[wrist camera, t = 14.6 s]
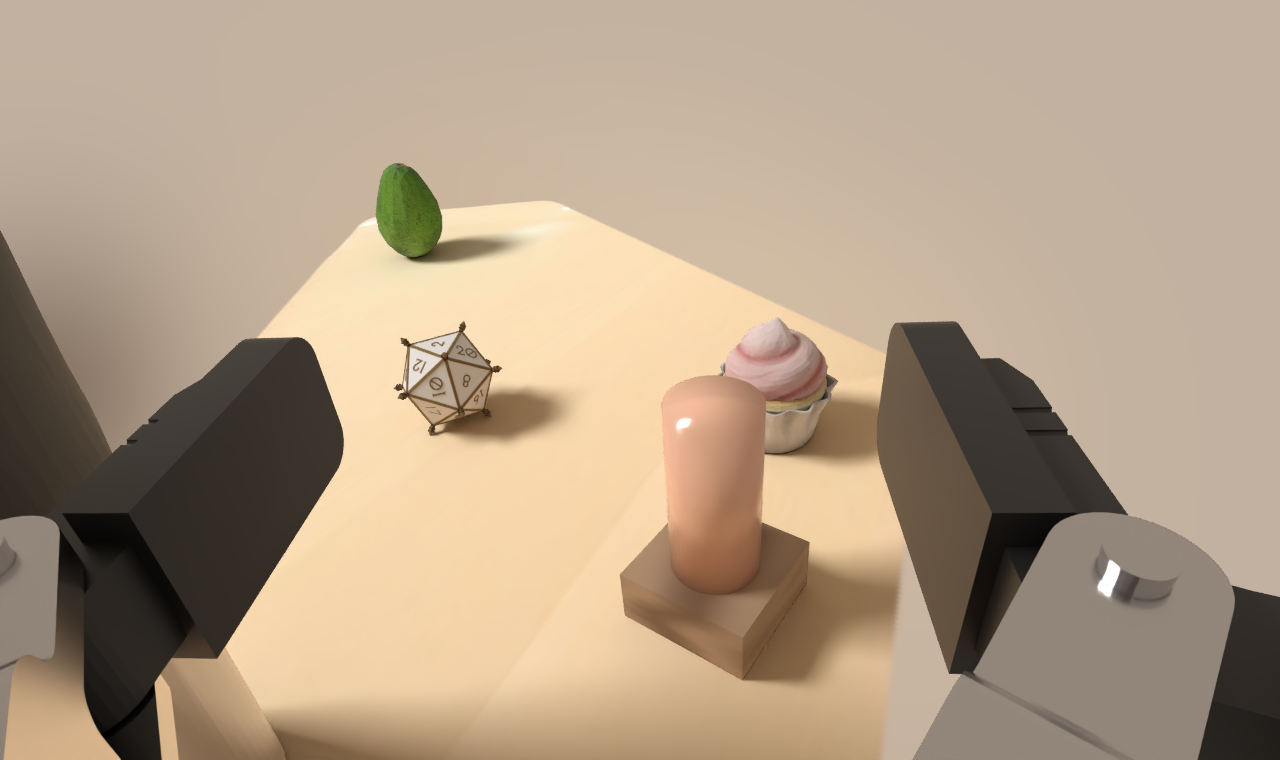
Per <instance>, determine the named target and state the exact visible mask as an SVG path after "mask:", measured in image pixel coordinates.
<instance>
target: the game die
mask: <svg viewBox="0 0 1280 760" xmlns="http://www.w3.org/2000/svg"><path fill="white" fill-rule="evenodd" d="M465 327H466V325H465V322H464V321H463V322H462V323H461V324H460V327H459V331H457V332H453V333H450V334H446V335H442V336H438V337H435V338H431V339H427V340H424V341H420V342H416V343H412V344H410V343H409V341H407V339H404V338H401V342H402V343H401V344H404V346H407V347H408V348H407V355H406V363H405V370H404V377H403V384H402V385H401V384H399V385H398V384H397V385H396V387H395V388H394V389H396V390H397V391H400V390H402V389H403V390H404V392H405V393H404V392H403V393H401V394H399V397H398V398H399V399H402V400H404V399H406V398H407V397H408V398H409V399H410V400H411V402H412V403H413V404H414V405H415V406H416V407H417V409H418V410H419V411H420V412H421V413H422V414H423V416H424V417H425V418H426V419H427V420H428V422H429V423H430V424H431V426H430V427H429V430H428V431H429V434H430V435H432V434H433V433H434V432H435V431H434V430H435V426H436V425H439V424H443V423H446V422H449V421H452V420H456V419H459V418H462V417H465V416H469V415H472V414H475V413H479V412H483V414H484V415H485V416H489V417H491V414H490V411H488V409H485V405H486V400H487V396H488V391H489V386H490V382H491V377H492V373H493V372H495V373H496V372H499V371H500V370H501V369H502V368H501V367H499V366H494V367H493V368H492V367H491V366H490V365H489V364H490V362H491V361H489V360H487V359H486V360H485V359H484V357H483V356H482V355H481V354H480V352H479V351H478V350H477V349H476V347H475V346H474V345H473V344H472V343H471V341H470V340H469V339H468V338H467V336H466V335H465V334H464V333H463V331H464V330H465Z"/></svg>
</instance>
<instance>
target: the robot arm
mask: <svg viewBox="0 0 1280 760" xmlns="http://www.w3.org/2000/svg"><path fill="white" fill-rule="evenodd" d="M1051 410H1052V407H1051V405H1050V404H1049V402H1048V401H1047V400H1046V398H1045V397H1044V395H1043V394H1042V393H1041V391H1040V390H1039V388H1038V387H1037V386H1036V384H1035V383H1034V381H1033V380H1032V379H1030V378H1029V377H1027V376H1025V375H1024V374H1023V373H1021V372H1020V371H1018V370H1017V369H1015V368H1014V367H1012V366H1010V365H1009V364H1008V363H1006V362H1005V361H1003V360H1002V359H1000V358H989V359H988V358H987V359H980V357H979V355H978V354H977V352H976V351H975V349H974V347H973V346H972V344H971V343H970V341H969V339H968V338H967V336H966V335H965V333H964V331H963V330H962V328H961V327H960V325H959V324H958V323H957V322H954V321H951V322H911V323H895V324H894V325H893V327H892V329H891V333H890V336H889V342H888V348H887V356H886V363H885V370H884V377H883V385H882V392H881V399H880V406H879V413H878V422H877V445H878V454H879V460H880V464H881V468H882V471H883V474H884V477H885V480H886V483H887V486H888V489H889V492H890V495H891V498H892V501H893V504H894V508H895V511H896V514H897V517H898V520H899V523H900V526H901V529H902V532H903V535H904V538H905V541H906V544H907V547H908V550H909V553H910V556H911V559H912V562H913V565H914V568H915V571H916V575H917V578H918V581H919V584H920V587H921V590H922V593H923V596H924V599H925V602H926V605H927V608H928V611H929V614H930V617H931V620H932V623H933V626H934V629H935V632H936V636H937V639H938V642H939V644H940V648H941V651H942V654H943V657H944V660H945V663H946V666H947V669H948V672H949V674H961V676H960V677H959V679H958V680H957V682H956V683H955V685H954V686H953V688H952V690H951V691H950V693H949V695H948V697H947V699H946V700H945V702H944V704H943V706H942V708H941V709H940V711H939V713H938V715H937V716H936V718H935V720H934V722H933V724H932V725H931V727H930V729H929V731H928V733H927V734H926V736H925V738H924V740H923V742H922V743H921V745H920V747H919V749H918V751H917V752H916V754H915V756H914V758H913V760H1280V597H1277V596H1272V595H1268V594H1264V593H1259V592H1254V591H1251V590H1246V589H1243V588H1239V587H1236V586H1232V585H1231V584H1230V582H1229V580H1228V578H1227V576H1226V575H1225V573H1224V572H1223V571H1222V569H1221V568H1220V567H1219V565H1218V564H1217V563H1216V562H1215V561H1214V560H1213V559H1212V558H1211V557H1210V556H1209V555H1208V554H1206V553H1205V552H1204V551H1203V550H1201V549H1200V548H1199V547H1198V546H1197V545H1195V544H1193V543H1192V542H1190V541H1189V540H1187V539H1186V538H1184V537H1182V536H1181V535H1179V534H1177V533H1175V532H1173V531H1171V530H1169V529H1167V528H1164V527H1162V526H1160V525H1158V524H1155V523H1153V522H1149V521H1146V520H1143V519H1140V518H1136V517H1132V516H1128V514H1127V513H1126V511H1125V510H1124V509H1123V507H1122V506H1121V504H1120V503H1119V502H1118V500H1117V499H1116V497H1115V496H1114V494H1113V493H1112V492H1111V490H1110V489H1109V487H1108V486H1107V485H1106V483H1105V482H1104V481H1103V479H1102V478H1101V476H1100V475H1099V473H1098V472H1097V470H1096V469H1095V468H1094V466H1093V465H1092V463H1091V462H1090V460H1089V459H1088V458H1087V456H1086V455H1085V453H1084V452H1083V451H1082V449H1081V448H1080V446H1079V445H1078V443H1077V442H1076V441H1075V439H1074V438H1073V436H1072V435H1068V434H1067V430H1068V429H1067V428H1066V426H1065V425H1064V424H1063V422H1062V421H1061V419H1060V418H1059V417H1058V415H1057V414H1056V413H1055V412H1053V413H1052V411H1051ZM148 420H149V424H146V425H142V426H141V427H140V428H139V429H138V430H137V431H136V432H135V433H134V434H132V435H131V436H130V437H129V438H128V439H127V445H121V446H120V447H119V448H118V449H117V450H115V451H114V452H113V453H112V452H111V450H110V447H109V445H108V443H107V441H106V438H105V436H104V434H103V432H102V429H101V427H100V425H99V423H98V421H97V419H96V417H95V415H94V413H93V411H92V409H91V407H90V405H89V403H88V401H87V399H86V397H85V396H84V394H83V392H82V390H81V389H80V387H79V385H78V383H77V381H76V380H75V378H74V376H73V374H72V373H71V371H70V369H69V368H68V366H67V364H66V362H65V360H64V358H63V356H62V354H61V352H60V350H59V348H58V346H57V344H56V343H55V341H54V338H53V337H52V335H51V333H50V331H49V329H48V327H47V325H46V323H45V321H44V319H43V317H42V315H41V313H40V311H39V309H38V307H37V305H36V302H35V300H34V298H33V296H32V294H31V292H30V290H29V288H28V286H27V284H26V282H25V280H24V278H23V276H22V274H21V272H20V269H19V267H18V265H17V263H16V261H15V259H14V257H13V255H12V253H11V251H10V249H9V246H8V244H7V242H6V240H5V239H4V237H3V235H2V233H1V231H0V760H286V757H285V751H284V749H283V747H282V745H281V743H280V741H279V740H278V738H277V736H276V734H275V733H274V731H273V729H272V727H271V726H270V724H269V722H268V721H267V719H266V717H265V715H264V714H263V712H262V710H261V708H260V707H259V705H258V703H257V701H256V699H255V697H254V696H253V694H252V692H251V691H250V689H249V687H248V686H247V684H246V682H245V681H244V679H243V677H242V675H241V674H240V672H239V670H238V669H237V667H236V665H235V664H234V662H233V660H232V658H231V657H230V655H229V653H228V652H227V650H226V648H225V646H226V644H227V643H228V641H229V640H230V638H231V637H232V635H233V633H234V632H235V630H236V629H237V627H238V625H239V624H240V622H241V621H242V619H243V618H244V616H245V614H246V613H247V611H248V610H249V608H250V607H251V605H252V603H253V602H254V600H255V599H256V597H257V596H258V594H259V592H260V591H261V589H262V588H263V586H264V585H265V583H266V581H267V580H268V578H269V577H270V575H271V574H272V572H273V570H274V569H275V567H276V566H277V564H278V563H279V561H280V559H281V558H282V556H283V555H284V553H285V552H286V550H287V548H288V547H289V545H290V544H291V542H292V540H293V539H294V537H295V536H296V534H297V533H298V531H299V529H300V528H301V526H302V525H303V523H304V522H305V520H306V518H307V517H308V515H309V514H310V512H311V511H312V509H313V507H314V506H315V504H316V503H317V501H318V500H319V498H320V496H321V495H322V493H323V492H324V490H325V489H326V487H327V485H328V484H329V482H330V481H331V479H332V478H333V476H334V474H335V473H336V471H337V469H338V468H339V465H340V463H341V459H342V455H343V447H344V438H343V431H342V427H341V423H340V420H339V418H338V415H337V412H336V409H335V407H334V404H333V401H332V398H331V396H330V393H329V390H328V387H327V385H326V382H325V379H324V376H323V374H322V371H321V368H320V365H319V362H318V360H317V357H316V354H315V352H314V350H313V348H312V346H311V345H310V344H309V343H308V342H307V341H306V340H305V339H303V338H299V337H293V338H255V339H245V340H243V341H241V342H240V343H239V344H238V345H237V346H236V347H235V348H234V349H233V350H231V351H230V352H229V353H228V354H227V355H226V356H225V357H224V358H223V359H222V360H221V361H220V362H219V363H218V364H217V365H216V366H215V367H214V368H213V369H212V370H211V371H210V372H208V373H207V374H206V375H205V376H204V377H203V378H202V379H201V380H200V381H198V382H196V383H194V384H193V385H191V386H189V387H188V388H186V389H184V390H182V391H181V392H179V393H177V394H175V395H174V396H173V397H172V398H171V399H170V400H169V401H168V402H167V403H166V404H164V405H163V406H162V407H161V408H160V409H159V410H158V411H157V412H156V413H155V414H154V415H153V416H152V417H151V418H149V419H148Z"/></svg>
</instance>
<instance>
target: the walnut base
mask: <svg viewBox="0 0 1280 760" xmlns="http://www.w3.org/2000/svg"><path fill="white" fill-rule="evenodd" d="M808 555H809V542H808V541H805V540H803V539H801V538H798V537H796V536H793V535H791V534H789V533H786V532H784V531H781V530H779V529H777V528H774V527H772V526H769V525H767V524H764V523H762V530H761V557H760V568H759V571H758V574H757V575H756V577H755V578H754V579H753V581H752V582H751V583H749V584H748V585H747V586H745V587H744V588H742V589H740V590H738V591H735V592H732V593H728V594H720V595H713V594H705V593H701V592H698V591H695V590H693V589H690V588H689V587H687V586H685V585H684V584H683V583H681V582H680V581H679V580H678V578H677V577H676V576H675V574H674V572H673V571H672V568H671V563H670V548H669V530H668V524H667V525H666V526H665V527H664V528H663V529H662V530H661V531H660V532H659V533H658V534H657V535H656V536H655V538H654V539H653V540H652V541H651V542H650V543H649V544H648V545H647V546H646V547H645V548H644V549H643V550H642V552H641V553H640V554H639V555H638V556H637V557H636V558H635V559H634V560H633V561H632V562H631V563H630V564H629V565H628V567H627V568H626V569H625V570H624V571H623V572H622V573H621V574H620V579H621V587H622V595H623V603H624V611H625V615H626V616H627V617H629V618H631V619H633V620H635V621H637V622H638V623H640V624H642V625H644V626H646V627H647V628H649V629H651V630H653V631H655V632H657V633H658V634H660V635H662V636H664V637H666V638H667V639H669V640H671V641H673V642H675V643H676V644H678V645H680V646H682V647H684V648H686V649H687V650H689V651H691V652H693V653H695V654H696V655H698V656H700V657H702V658H704V659H706V660H707V661H709V662H711V663H713V664H715V665H716V666H718V667H720V668H722V669H724V670H725V671H727V672H729V673H731V674H733V675H735V676H736V677H738V678H740V679H742V680H743V678H744V677H745V675H746V674H747V672H748V671H749V669H750V668H751V666H752V664H753V663H754V661H755V660H756V658H757V657H758V655H759V654H760V652H761V651H762V649H763V648H764V646H765V645H766V643H767V642H768V640H769V639H770V637H771V636H772V634H773V633H774V631H775V630H776V628H777V627H778V625H779V624H780V622H781V621H782V619H783V618H784V616H785V615H786V613H787V612H788V610H789V609H790V607H791V606H792V604H793V603H794V601H795V600H796V598H797V597H798V595H799V594H800V592H801V590H802V589H803V587H804V586H805V584H806V581H807V568H808Z"/></svg>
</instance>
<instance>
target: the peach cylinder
mask: <svg viewBox="0 0 1280 760" xmlns="http://www.w3.org/2000/svg"><path fill="white" fill-rule="evenodd" d="M661 408H662V426H663V443H664V460H665V478H666V495H667V513H668V530H669V548H670V563H671V568H672V571H673V572H674V574H675V576H676V577H677V578H678V580H679V581H680V582H681V583H683V584H684V585H685V586H687V587H689V588H690V589H693V590H695V591H698V592H701V593H705V594H713V595H720V594H728V593H732V592H735V591H738V590H740V589H742V588H744V587H745V586H747V585H748V584H749V583H751V582H752V581H753V579H754V578H755V577H756V575H757V574H758V571H759V568H760V557H761V530H762V503H763V476H764V449H765V422H766V400H765V398H764V396H763V394H762V393H761V392H760V391H759V390H758V389H757V388H756V387H755V386H753V385H752V384H750V383H748V382H746V381H743V380H740V379H737V378H733V377H728V376H716V375H713V376H701V377H695V378H691V379H688V380H685V381H683V382H680V383H678V384H676V385H675V386H673V387H672V388H671V389H670V390H668V391H667V393H666V394H665V395H664V397H663V399H662V404H661Z"/></svg>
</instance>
